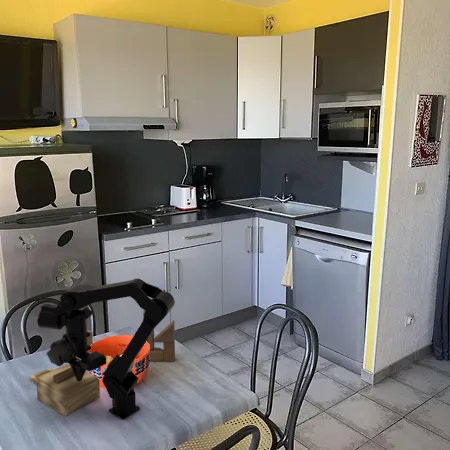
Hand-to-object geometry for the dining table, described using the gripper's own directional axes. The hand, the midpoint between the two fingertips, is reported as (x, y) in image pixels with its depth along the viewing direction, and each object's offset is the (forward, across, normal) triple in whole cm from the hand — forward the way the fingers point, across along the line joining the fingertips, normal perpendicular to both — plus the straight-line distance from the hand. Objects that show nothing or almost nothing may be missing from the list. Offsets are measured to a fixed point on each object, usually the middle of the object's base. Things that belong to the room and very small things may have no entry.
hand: (79, 380), depth 135 cm
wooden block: (+8, -2, +34) cm, 35 cm away
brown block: (+8, -21, +17) cm, 28 cm away
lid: (+2, -6, 0) cm, 6 cm away
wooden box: (+8, -12, 0) cm, 14 cm away
